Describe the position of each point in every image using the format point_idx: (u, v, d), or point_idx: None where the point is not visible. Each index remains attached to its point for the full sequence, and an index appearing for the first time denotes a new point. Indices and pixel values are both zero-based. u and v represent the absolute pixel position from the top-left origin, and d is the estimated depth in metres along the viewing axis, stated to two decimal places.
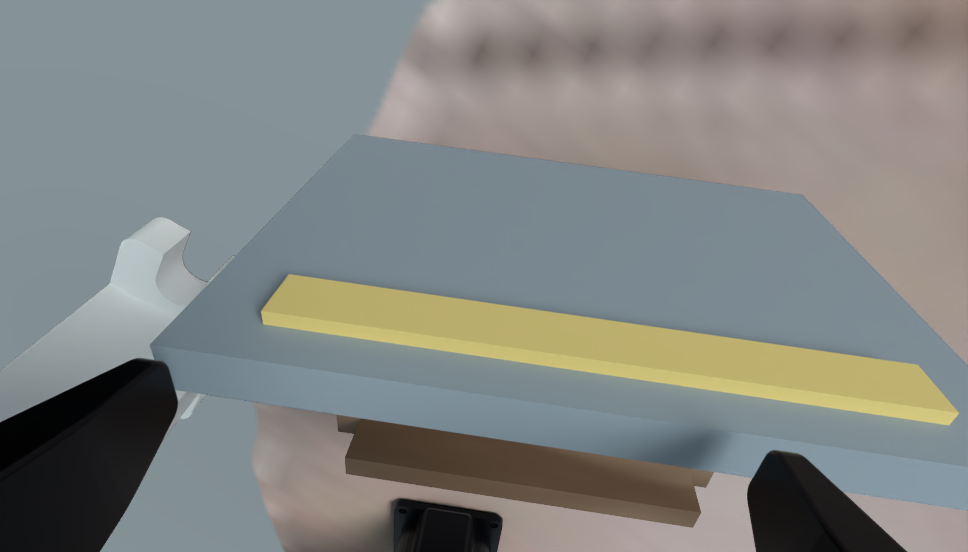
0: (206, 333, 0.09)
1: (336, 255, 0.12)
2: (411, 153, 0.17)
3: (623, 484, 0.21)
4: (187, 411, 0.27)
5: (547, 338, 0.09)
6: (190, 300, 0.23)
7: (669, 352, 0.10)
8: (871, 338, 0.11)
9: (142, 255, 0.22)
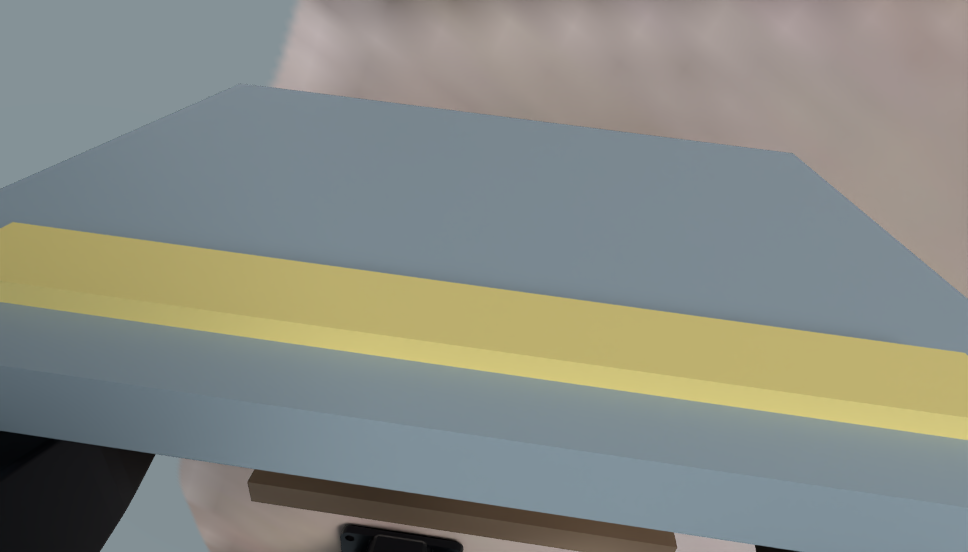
0: None
1: (124, 205, 0.08)
2: (303, 102, 0.14)
3: None
4: None
5: (381, 312, 0.06)
6: None
7: (574, 333, 0.06)
8: (889, 317, 0.08)
9: None
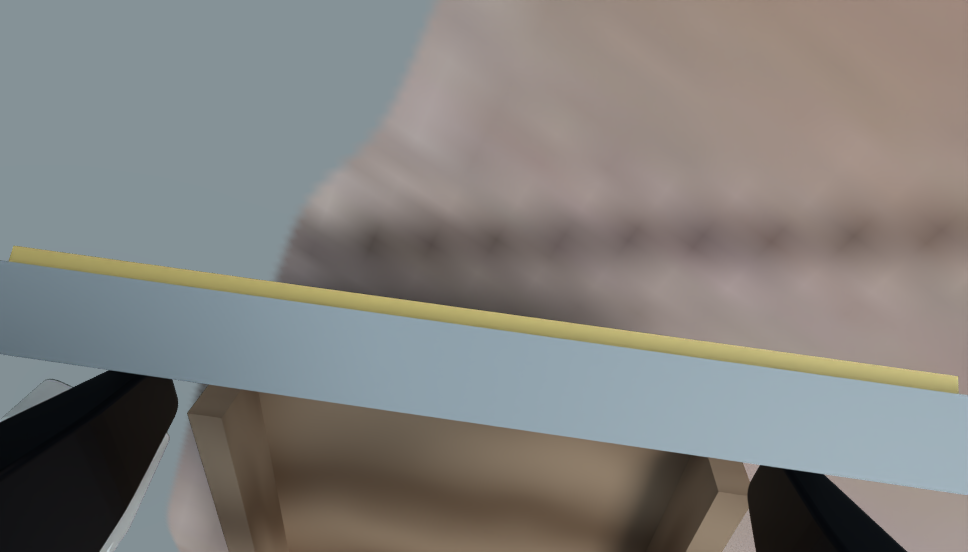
0: None
1: None
2: None
3: None
4: None
5: None
6: None
7: None
8: None
9: None
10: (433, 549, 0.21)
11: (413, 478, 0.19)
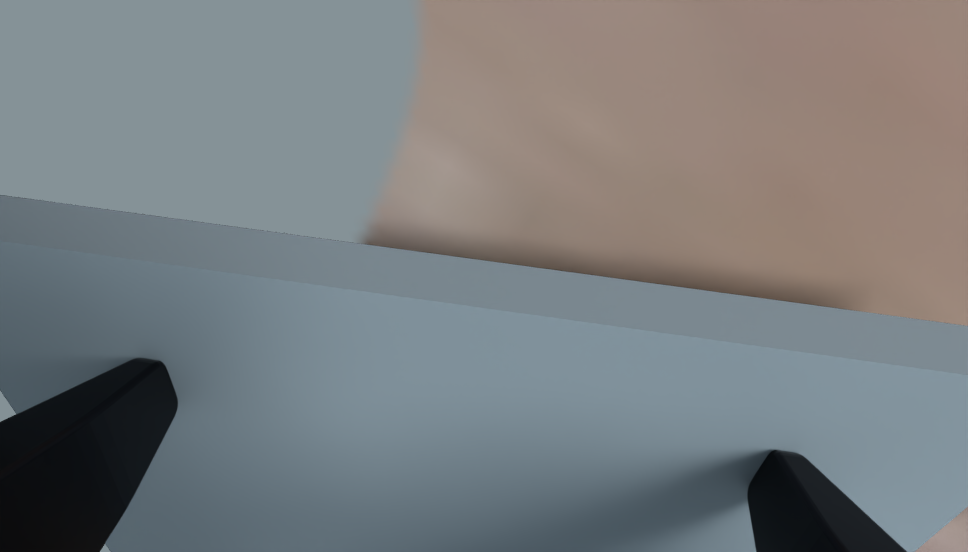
0: None
1: None
2: None
3: None
4: None
5: None
6: None
7: None
8: None
9: None
10: None
11: None
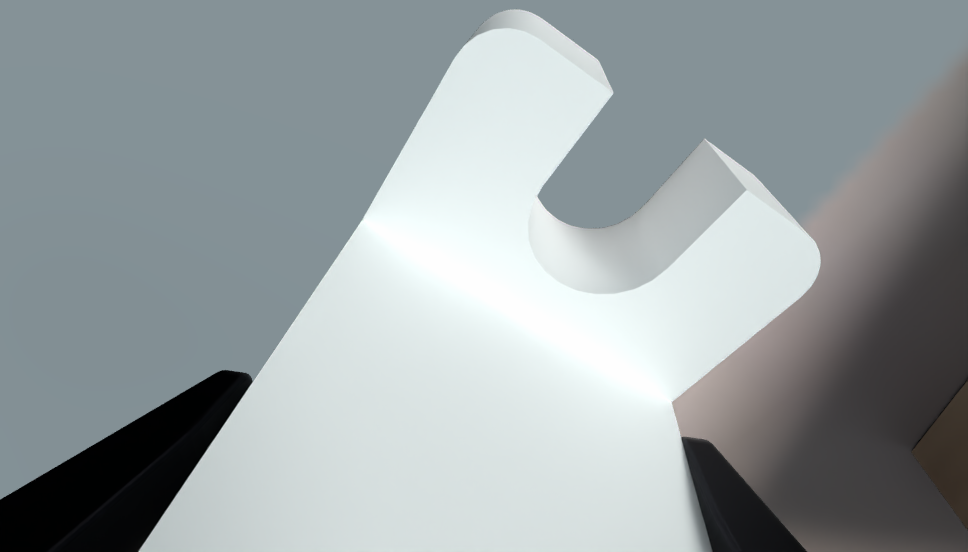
0: None
1: None
2: None
3: None
4: None
5: None
6: (591, 276, 0.08)
7: None
8: None
9: (525, 102, 0.06)
10: None
11: None
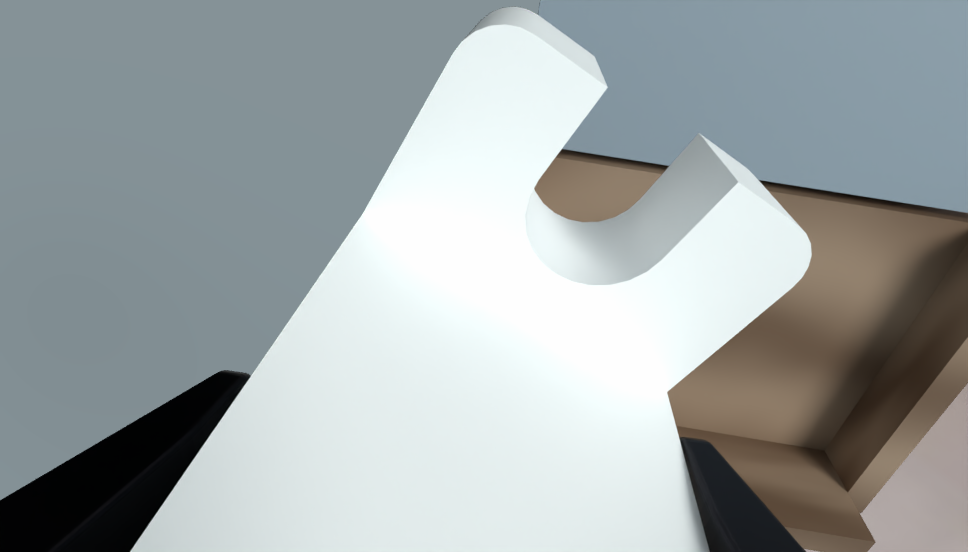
0: None
1: None
2: None
3: (783, 508, 0.19)
4: None
5: None
6: (588, 268, 0.08)
7: None
8: None
9: (521, 96, 0.06)
10: None
11: None
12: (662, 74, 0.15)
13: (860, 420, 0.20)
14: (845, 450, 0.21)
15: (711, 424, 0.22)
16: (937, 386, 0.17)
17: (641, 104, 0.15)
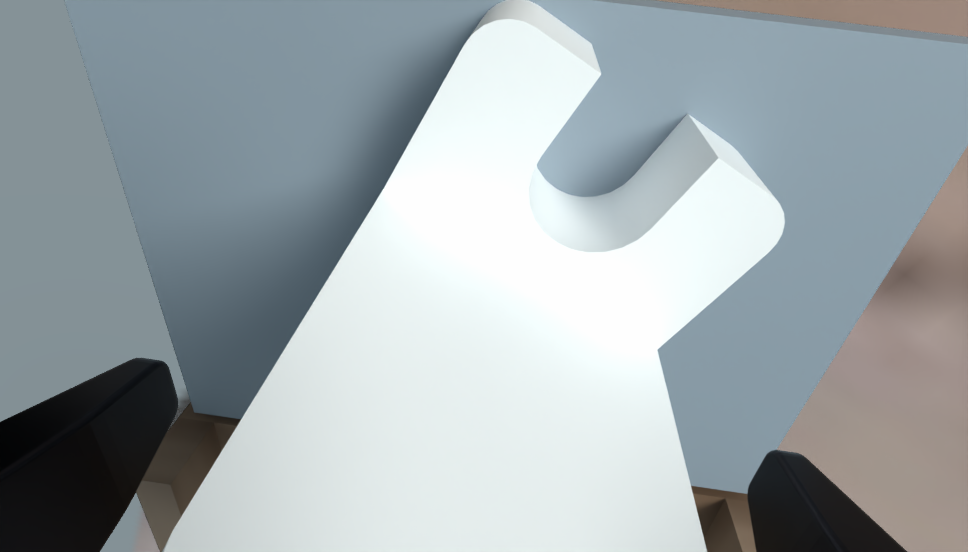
0: None
1: None
2: None
3: None
4: None
5: None
6: (585, 237, 0.09)
7: None
8: None
9: (525, 82, 0.07)
10: None
11: None
12: None
13: None
14: None
15: None
16: None
17: None
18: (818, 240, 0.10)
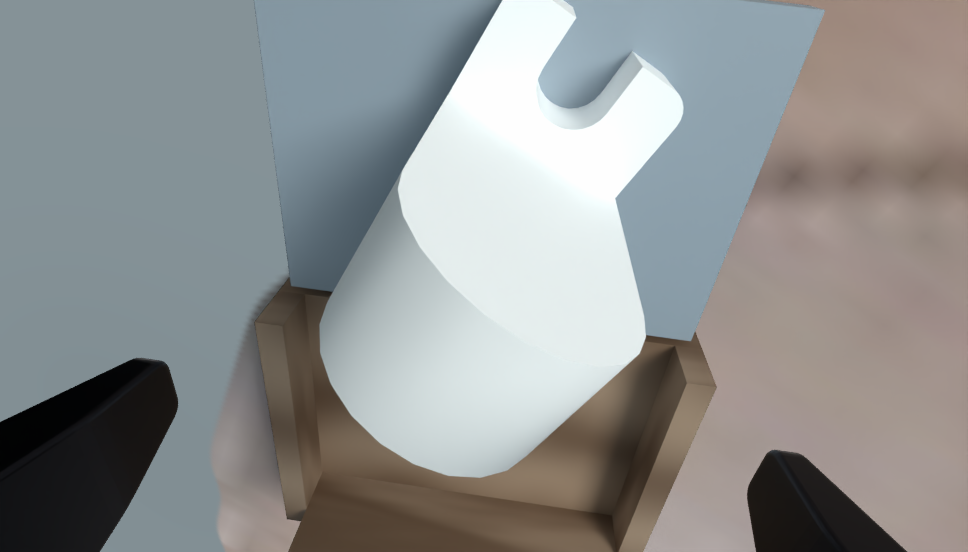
0: None
1: None
2: None
3: None
4: None
5: None
6: (570, 124, 0.14)
7: None
8: None
9: (534, 23, 0.13)
10: None
11: None
12: None
13: (625, 494, 0.23)
14: (618, 518, 0.24)
15: (512, 495, 0.25)
16: (655, 476, 0.21)
17: None
18: (719, 136, 0.15)
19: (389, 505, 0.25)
